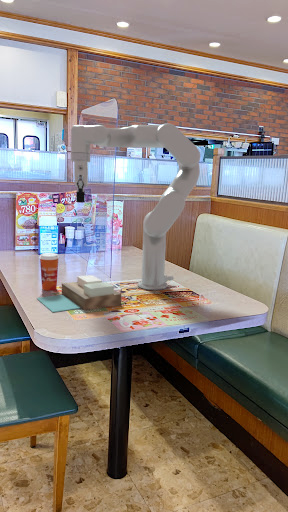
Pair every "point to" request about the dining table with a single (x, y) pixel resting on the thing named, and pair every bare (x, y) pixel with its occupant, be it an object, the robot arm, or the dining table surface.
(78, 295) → the riser
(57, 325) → the dining table surface
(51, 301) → the mat
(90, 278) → the white rectangular block
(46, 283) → the paper cup
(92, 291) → the pale green block
